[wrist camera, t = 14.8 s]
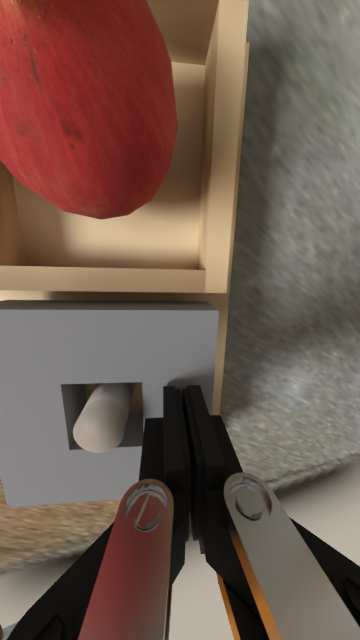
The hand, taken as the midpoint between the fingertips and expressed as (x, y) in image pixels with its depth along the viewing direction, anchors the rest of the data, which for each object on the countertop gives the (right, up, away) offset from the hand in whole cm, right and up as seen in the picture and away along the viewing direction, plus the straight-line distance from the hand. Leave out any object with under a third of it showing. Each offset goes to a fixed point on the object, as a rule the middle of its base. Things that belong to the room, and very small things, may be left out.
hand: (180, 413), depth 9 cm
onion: (-3, +12, +1) cm, 12 cm away
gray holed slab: (-4, 0, +2) cm, 4 cm away
